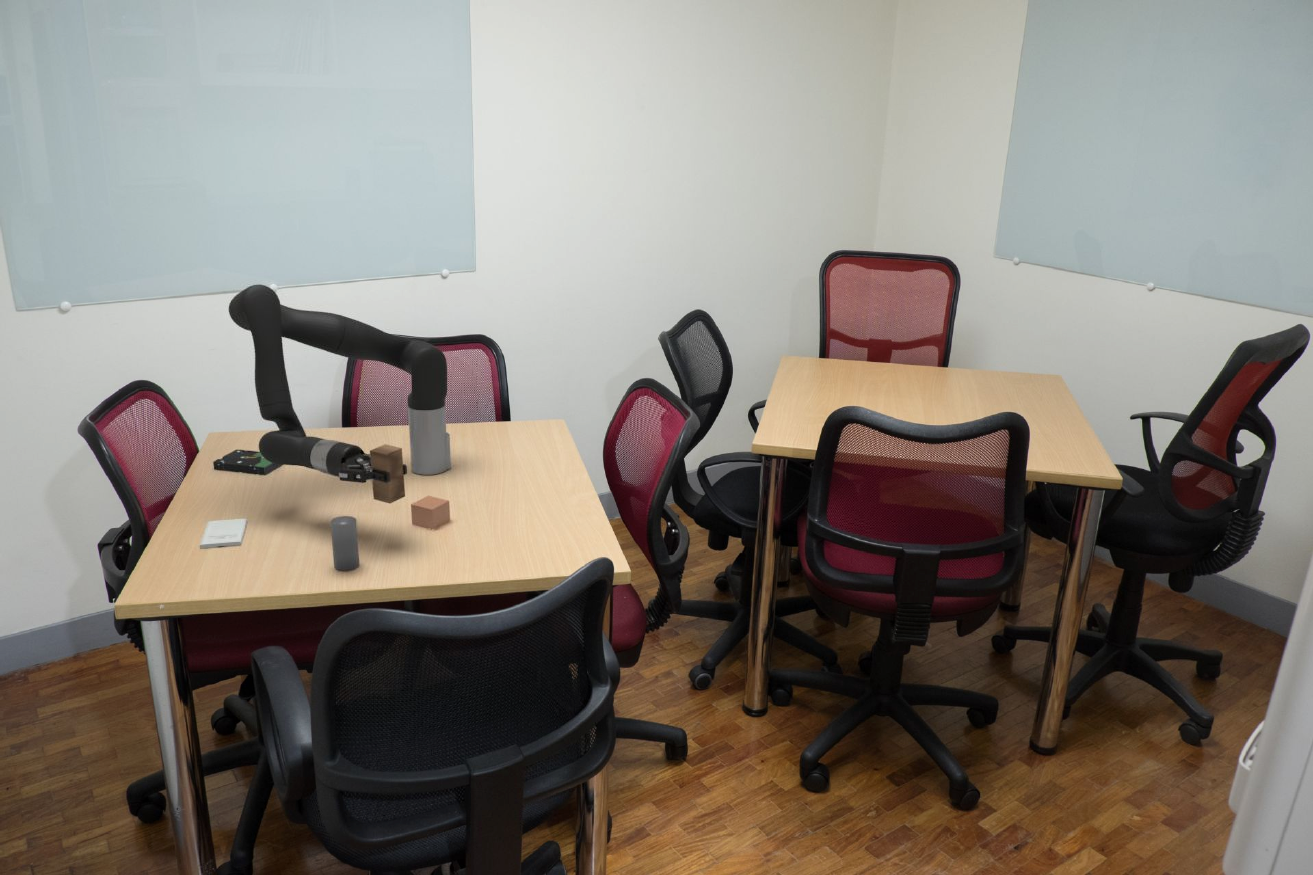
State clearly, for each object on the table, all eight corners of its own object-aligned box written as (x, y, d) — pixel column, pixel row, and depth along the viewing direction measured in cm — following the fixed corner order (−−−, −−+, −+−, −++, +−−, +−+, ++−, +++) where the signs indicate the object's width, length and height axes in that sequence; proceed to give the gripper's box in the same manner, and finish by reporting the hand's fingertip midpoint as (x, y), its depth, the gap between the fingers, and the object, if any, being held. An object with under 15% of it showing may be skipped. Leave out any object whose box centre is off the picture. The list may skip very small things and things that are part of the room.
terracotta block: (429, 515, 232) (428, 495, 230) (450, 520, 229) (449, 500, 228) (412, 524, 227) (410, 504, 225) (433, 530, 224) (432, 509, 223)
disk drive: (213, 472, 255) (266, 477, 253) (212, 461, 254) (265, 466, 252) (237, 458, 265) (288, 463, 262) (236, 448, 264) (287, 453, 261)
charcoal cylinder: (353, 558, 210) (350, 514, 206) (363, 566, 206) (360, 522, 203) (330, 564, 207) (326, 519, 203) (339, 573, 203) (336, 527, 200)
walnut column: (388, 492, 217) (385, 444, 213) (405, 496, 215) (401, 448, 211) (373, 499, 213) (369, 450, 209) (390, 503, 211) (386, 454, 207)
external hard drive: (247, 524, 226) (241, 547, 214) (208, 527, 223) (200, 551, 212) (247, 518, 225) (240, 540, 214) (207, 521, 223) (199, 544, 212)
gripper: (310, 452, 211) (372, 467, 204) (359, 433, 223) (419, 447, 215) (314, 485, 214) (374, 501, 206) (362, 464, 226) (421, 479, 218)
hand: (397, 473), depth 211 cm, fingers closed on walnut column, 4 cm apart
